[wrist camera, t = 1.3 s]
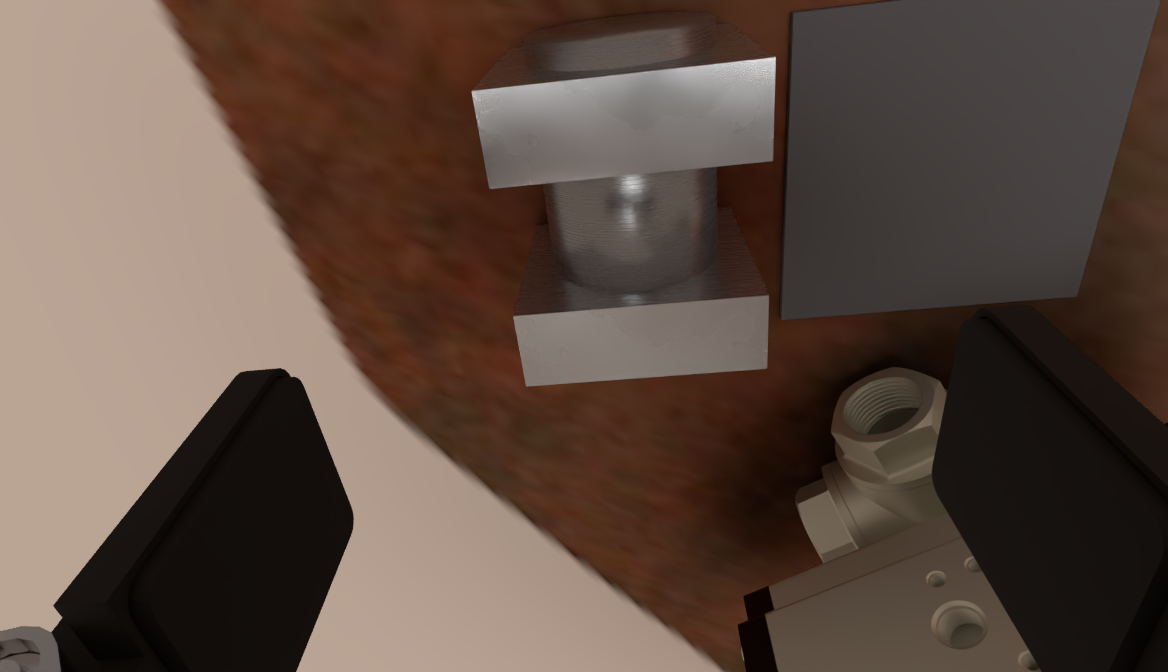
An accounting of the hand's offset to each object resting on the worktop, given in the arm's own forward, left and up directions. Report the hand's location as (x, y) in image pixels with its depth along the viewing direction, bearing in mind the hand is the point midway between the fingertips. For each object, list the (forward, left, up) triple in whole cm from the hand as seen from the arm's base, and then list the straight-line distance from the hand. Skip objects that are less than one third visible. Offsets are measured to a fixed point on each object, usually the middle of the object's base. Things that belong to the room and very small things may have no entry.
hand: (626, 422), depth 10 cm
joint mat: (-1, -10, -14) cm, 17 cm away
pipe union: (0, 0, -14) cm, 14 cm away
